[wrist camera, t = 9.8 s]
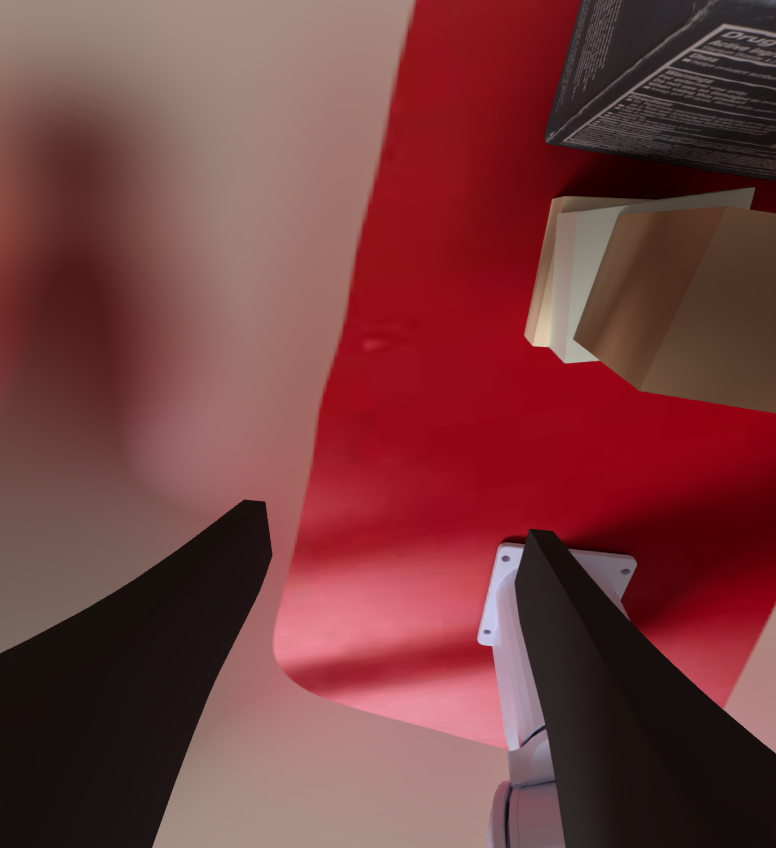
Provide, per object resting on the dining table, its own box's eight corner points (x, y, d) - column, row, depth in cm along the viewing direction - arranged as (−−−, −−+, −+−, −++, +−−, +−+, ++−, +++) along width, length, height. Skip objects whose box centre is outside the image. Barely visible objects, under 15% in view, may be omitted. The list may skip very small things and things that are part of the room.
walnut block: (684, 357, 14) (803, 417, 9) (572, 339, 14) (639, 390, 10) (746, 234, 12) (931, 237, 8) (618, 214, 12) (727, 205, 8)
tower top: (678, 334, 16) (713, 350, 14) (549, 346, 16) (564, 363, 14) (708, 192, 13) (755, 187, 11) (557, 213, 14) (576, 212, 12)
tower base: (642, 340, 18) (668, 355, 16) (522, 332, 18) (532, 345, 16) (689, 205, 15) (727, 202, 14) (549, 199, 16) (565, 196, 14)
